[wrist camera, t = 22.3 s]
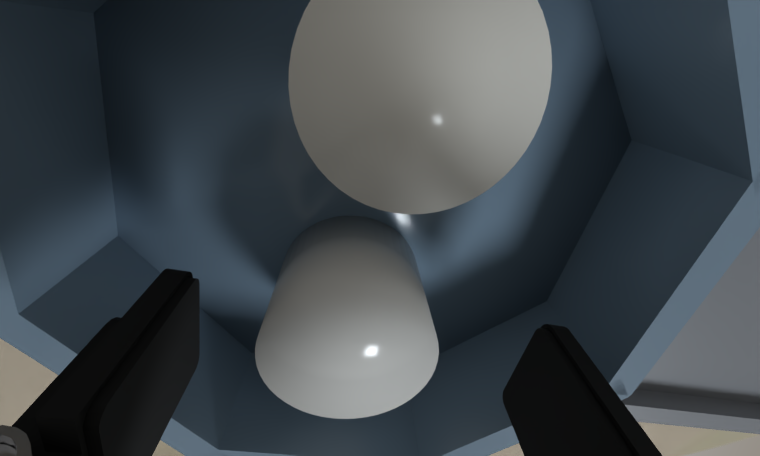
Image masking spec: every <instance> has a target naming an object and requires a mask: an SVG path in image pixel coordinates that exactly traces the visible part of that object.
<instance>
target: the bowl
mask: <svg viewBox="0 0 760 456" xmlns="http://www.w3.org/2000/svg"><path fill="white" fill-rule="evenodd" d="M309 2H310V0H0V338H1V339H3V340H4V341H6V342H7V343H9V344H10V345H12V346H14V347H15V348H17V349H18V350H20V351H21V352H23V353H25V354H26V355H28V356H29V357H31V358H32V359H34V360H36V361H37V362H39V363H40V364H42V365H44V366H45V367H47V368H48V369H50V370H51V371H53V372H55V373H56V374H58V375H59V374H60V373H61V372H62V371H63V370H64V369H65V368H66V367H67V366H68V364H69V363H70V362H71V361H72V360H73V359H74V358H75V357H76V356H77V355H78V354H79V352H80V351H81V350H82V349H83V348H84V347H85V346H86V345H87V344H88V343H89V342H90V340H91V339H92V338H93V337H94V336H95V335H96V334H97V333H98V332H99V331H100V330H101V329H102V327H103V326H104V325H105V324H106V323H107V322H109V321H110V320H111V319H113V318H115V317H120V318H122V317H123V316H124V314H125V313H126V312H127V311H128V310H129V309H130V308H131V307H132V305H133V304H134V303H135V302H136V301H137V300H138V299H139V297H140V296H141V295H142V294H143V293H144V292H145V291H146V289H147V288H148V287H149V286H150V285H151V284H152V283H153V282H154V280H155V279H156V278H157V277H158V276H159V275H160V274H161V272H162V271H163V270H165V269H167V268H169V269H175V270H182V271H189V272H191V273H192V275H193V278H197V279H199V284H200V356H199V362H198V365H197V368H196V370H195V372H194V374H193V376H192V378H191V380H190V382H189V384H188V386H187V388H186V390H185V392H184V394H183V396H182V398H181V400H180V402H179V404H178V406H177V407H176V409H175V411H174V413H173V415H172V417H171V419H170V421H169V423H168V425H167V427H166V429H165V431H164V433H163V435H162V437H161V439H160V440H162V441H163V442H165V443H166V444H168V445H169V446H171V447H173V448H174V449H176V450H177V451H179V452H180V453H182V454H184V455H185V456H488V455H491V454H493V453H496V452H498V451H501V450H503V449H505V448H508V447H510V446H513V445H515V444H517V443H519V441H518V438H517V436H516V433H515V431H514V428H513V426H512V423H511V421H510V419H509V416H508V414H507V411H506V409H505V406H504V403H503V391H504V388H505V386H506V385H507V383H508V381H509V379H510V377H511V375H512V373H513V371H514V370H515V368H516V366H517V364H518V362H519V360H520V358H521V356H522V355H523V353H524V351H525V349H526V347H527V345H528V343H529V342H530V340H531V338H532V336H533V334H534V332H535V331H536V329H538V328H541V326H542V325H544V324H551V325H558V326H564V327H567V328H568V329H569V330H570V332H571V333H572V334H573V336H574V337H575V338H576V340H577V341H578V342H579V344H580V345H581V346H582V348H583V349H584V351H585V352H586V353H587V355H588V356H589V357H590V359H591V360H592V361H593V363H594V364H595V365H596V367H597V368H598V369H599V371H600V372H601V374H602V375H603V376H604V378H605V379H606V380H607V382H608V383H609V384H610V386H611V387H612V388H613V390H614V391H615V392H616V394H617V395H618V397H619V398H620V399H621V400H623V399H626V398H628V397H629V396H631V395H632V394H633V392H634V391H635V390H636V388H637V387H638V386H639V384H640V383H641V382H642V380H643V379H644V378H645V377H646V375H647V374H648V373H649V371H650V370H651V369H652V367H653V366H654V365H655V363H656V362H657V361H658V360H659V358H660V357H661V356H662V354H663V353H664V352H665V350H666V349H667V348H668V346H669V345H670V344H671V343H672V341H673V340H674V339H675V337H676V336H677V335H678V333H679V332H680V331H681V329H682V328H683V327H684V326H685V324H686V323H687V322H688V320H689V319H690V318H691V316H692V315H693V314H694V312H695V311H696V310H697V308H698V307H699V306H700V305H701V303H702V302H703V301H704V299H705V298H706V297H707V295H708V294H709V293H710V291H711V290H712V289H713V288H714V286H715V285H716V284H717V282H718V281H719V280H720V278H721V277H722V276H723V274H724V273H725V272H726V271H727V269H728V268H729V267H730V265H731V264H732V263H733V261H734V260H735V259H736V257H737V256H738V255H739V254H740V252H741V251H742V250H743V248H744V247H745V246H746V244H747V243H748V242H749V240H750V239H751V238H752V236H753V235H754V234H755V233H756V231H757V230H758V229H759V227H760V0H538V3H539V5H540V7H541V9H542V11H543V14H544V18H545V21H546V24H547V28H548V31H549V38H550V44H551V53H552V74H551V86H550V91H549V96H548V101H547V105H546V108H545V111H544V114H543V117H542V120H541V123H540V125H539V127H538V129H537V131H536V134H535V136H534V138H533V139H532V141H531V143H530V144H529V146H528V148H527V149H526V151H525V152H524V154H523V155H522V156H521V158H520V159H519V160H518V162H517V163H516V164H515V166H514V167H513V168H512V169H511V170H510V171H509V172H508V173H507V174H506V175H505V176H504V177H503V178H502V179H501V180H499V181H498V182H497V183H496V184H495V185H494V186H492V187H491V188H490V189H488V190H487V191H485V192H484V193H482V194H481V195H479V196H477V197H476V198H474V199H472V200H470V201H468V202H466V203H464V204H461V205H459V206H456V207H453V208H451V209H447V210H443V211H439V212H434V213H427V214H399V213H392V212H387V211H383V210H379V209H376V208H373V207H370V206H367V205H365V204H363V203H361V202H359V201H357V200H355V199H353V198H351V197H350V196H348V195H347V194H345V193H344V192H342V191H341V190H340V189H338V188H337V187H336V186H335V185H334V184H333V183H332V182H330V181H329V180H328V179H327V178H326V177H325V175H324V174H323V173H322V172H321V171H320V170H319V169H318V168H317V166H316V165H315V163H314V162H313V160H312V159H311V157H310V156H309V154H308V153H307V151H306V149H305V147H304V145H303V143H302V141H301V139H300V136H299V134H298V131H297V128H296V125H295V123H294V118H293V114H292V110H291V106H290V97H289V87H288V85H289V63H290V56H291V49H292V45H293V41H294V38H295V34H296V31H297V28H298V25H299V23H300V21H301V18H302V16H303V13H304V11H305V9H306V7H307V6H308V4H309ZM338 216H363V217H367V218H372V219H375V220H378V221H380V222H383V223H385V224H386V225H388V226H390V227H392V228H393V229H394V230H396V231H397V232H398V233H399V234H400V235H401V236H403V238H404V239H405V240H406V241H407V242H408V244H409V246H410V247H411V249H412V251H413V253H414V256H415V259H416V262H417V266H418V270H419V273H420V277H421V281H422V284H423V288H424V291H425V295H426V299H427V302H428V306H429V310H430V313H431V317H432V320H433V324H434V328H435V331H436V335H437V339H438V344H439V356H438V362H437V365H436V368H435V371H434V373H433V375H432V377H431V378H430V380H429V381H428V383H427V384H426V385H425V387H424V388H423V389H422V390H421V391H420V392H419V393H418V394H416V395H415V396H414V397H413V398H412V399H410V400H409V401H407V402H406V403H404V404H402V405H400V406H399V407H397V408H394V409H392V410H390V411H387V412H384V413H381V414H378V415H374V416H369V417H363V418H355V419H335V418H327V417H321V416H317V415H312V414H309V413H306V412H303V411H301V410H299V409H296V408H294V407H292V406H291V405H289V404H287V403H285V402H284V401H283V400H281V399H280V398H278V397H277V396H276V395H275V394H274V393H273V392H272V391H271V390H270V389H269V388H268V387H267V385H266V384H265V383H264V381H263V379H262V378H261V376H260V374H259V371H258V369H257V366H256V360H255V346H256V340H257V337H258V334H259V331H260V328H261V325H262V322H263V319H264V317H265V314H266V311H267V308H268V305H269V302H270V299H271V296H272V293H273V290H274V287H275V285H276V282H277V279H278V276H279V273H280V270H281V267H282V264H283V261H284V258H285V256H286V253H287V251H288V249H289V247H290V245H291V244H292V243H293V241H294V240H295V239H296V238H297V237H298V236H299V235H300V234H301V233H302V232H303V231H304V230H306V229H307V228H308V227H310V226H312V225H314V224H316V223H317V222H320V221H323V220H325V219H329V218H333V217H338Z"/></svg>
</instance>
